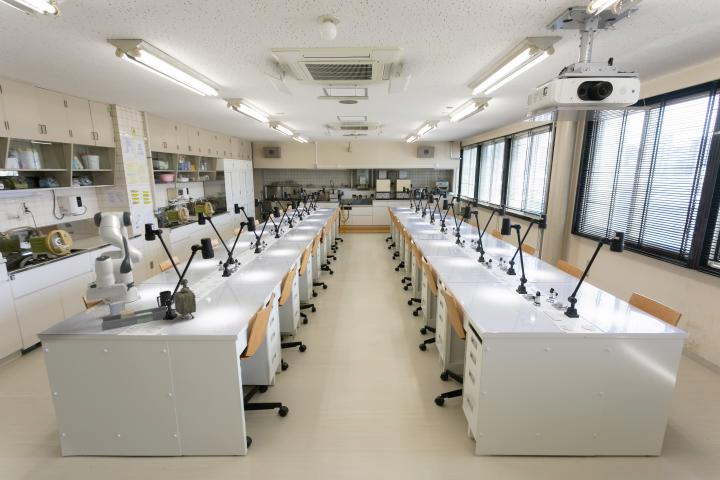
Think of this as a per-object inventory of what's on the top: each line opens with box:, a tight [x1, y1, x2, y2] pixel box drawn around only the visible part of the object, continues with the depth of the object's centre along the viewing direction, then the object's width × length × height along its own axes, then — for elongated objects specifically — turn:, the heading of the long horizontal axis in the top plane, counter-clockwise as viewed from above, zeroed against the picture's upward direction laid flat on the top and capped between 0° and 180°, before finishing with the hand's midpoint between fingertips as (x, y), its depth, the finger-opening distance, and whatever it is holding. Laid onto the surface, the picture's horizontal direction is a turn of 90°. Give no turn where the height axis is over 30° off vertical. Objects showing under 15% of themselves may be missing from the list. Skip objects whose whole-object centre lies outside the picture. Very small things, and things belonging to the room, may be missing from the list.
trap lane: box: [101, 306, 167, 331], centre depth 214 cm, size 10×35×5 cm, turn 126°
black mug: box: [156, 290, 172, 307], centre depth 235 cm, size 10×7×12 cm
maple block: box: [121, 308, 135, 319], centre depth 211 cm, size 5×7×4 cm
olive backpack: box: [173, 280, 197, 319], centre depth 219 cm, size 14×9×25 cm, turn 44°
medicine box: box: [108, 301, 127, 316], centre depth 224 cm, size 8×4×9 cm, turn 141°
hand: (108, 304), depth 204 cm, fingers closed
